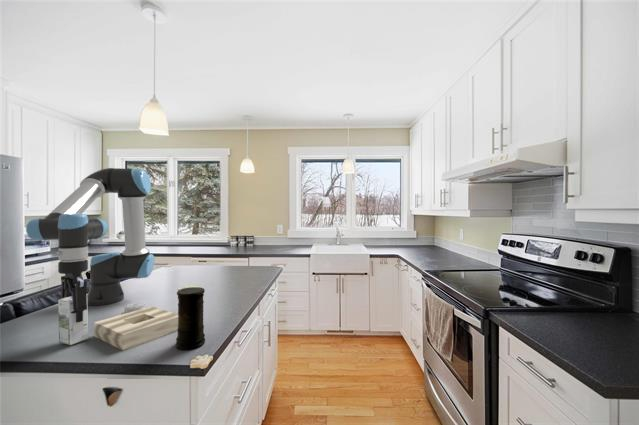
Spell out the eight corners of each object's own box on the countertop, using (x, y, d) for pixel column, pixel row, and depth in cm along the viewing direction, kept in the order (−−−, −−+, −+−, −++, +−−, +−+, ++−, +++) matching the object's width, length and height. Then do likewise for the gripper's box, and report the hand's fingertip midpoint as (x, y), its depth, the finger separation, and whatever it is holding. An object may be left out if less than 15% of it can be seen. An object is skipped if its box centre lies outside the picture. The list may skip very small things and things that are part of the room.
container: (181, 338, 100) (182, 286, 100) (208, 337, 101) (208, 286, 101) (170, 351, 91) (170, 294, 91) (200, 350, 92) (200, 293, 92)
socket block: (94, 336, 102) (94, 322, 102) (152, 318, 119) (152, 306, 119) (122, 350, 91) (123, 334, 91) (181, 328, 108) (181, 315, 108)
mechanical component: (114, 318, 119) (135, 320, 117) (114, 307, 119) (135, 309, 117) (134, 310, 129) (154, 312, 127) (134, 300, 129) (154, 302, 127)
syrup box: (89, 338, 99) (88, 295, 98) (69, 346, 93) (68, 301, 93) (77, 335, 101) (77, 294, 100) (57, 343, 95) (57, 299, 95)
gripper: (47, 258, 98) (48, 326, 99) (71, 264, 88) (71, 340, 89) (75, 256, 105) (75, 319, 105) (99, 261, 95) (100, 331, 95)
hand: (73, 328), depth 97 cm, fingers closed on syrup box, 6 cm apart
